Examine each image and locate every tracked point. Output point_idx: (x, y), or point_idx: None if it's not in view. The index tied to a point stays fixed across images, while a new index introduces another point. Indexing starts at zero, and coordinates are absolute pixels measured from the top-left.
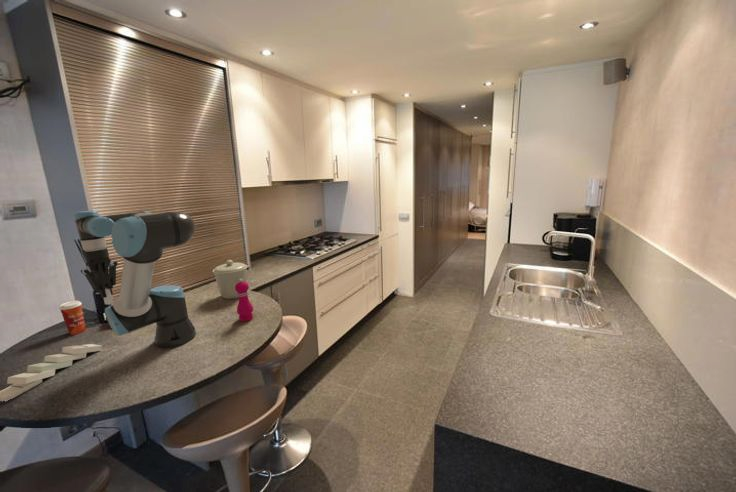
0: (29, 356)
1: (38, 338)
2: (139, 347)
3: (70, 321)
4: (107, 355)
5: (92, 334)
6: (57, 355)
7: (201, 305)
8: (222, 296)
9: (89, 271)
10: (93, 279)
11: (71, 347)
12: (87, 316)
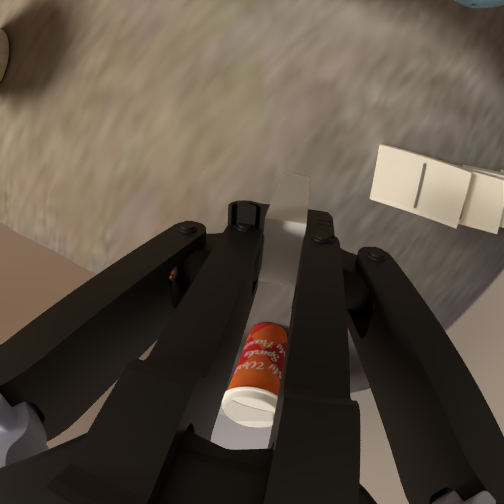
0: None
1: None
2: (343, 15)
3: (283, 363)
4: (407, 90)
5: None
6: (488, 204)
7: (41, 89)
8: (3, 69)
9: (498, 501)
10: (442, 360)
11: (455, 197)
12: None
